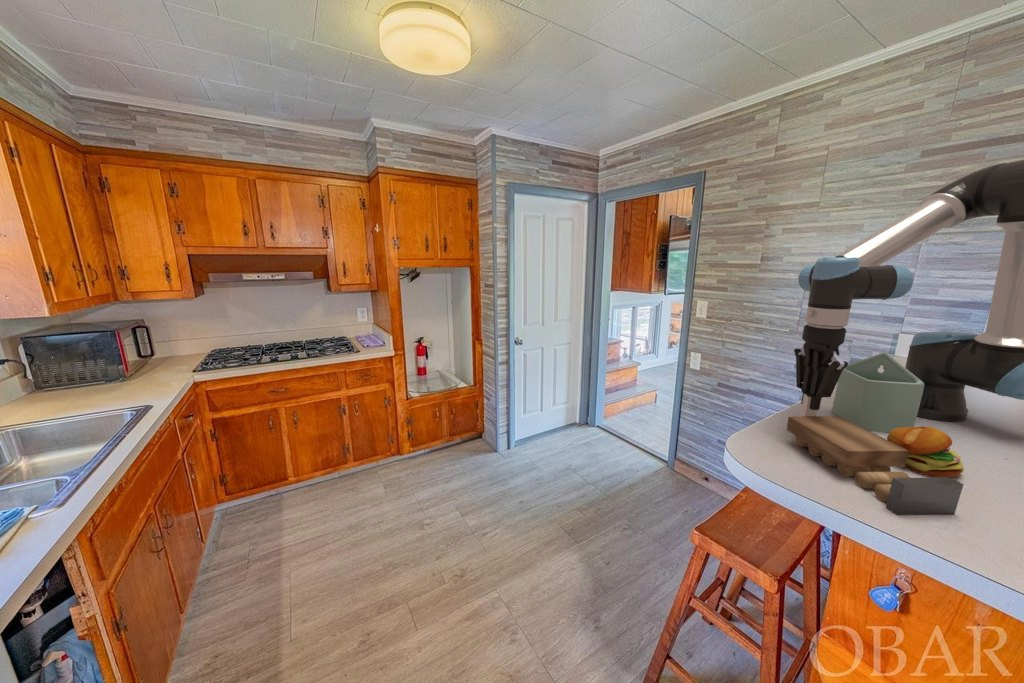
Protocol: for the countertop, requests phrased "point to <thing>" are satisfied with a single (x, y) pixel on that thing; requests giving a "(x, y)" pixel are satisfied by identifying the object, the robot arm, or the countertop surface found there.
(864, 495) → the countertop surface
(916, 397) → the planter
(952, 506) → the stop rail
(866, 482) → the cylinder
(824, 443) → the board
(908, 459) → the cheeseburger
